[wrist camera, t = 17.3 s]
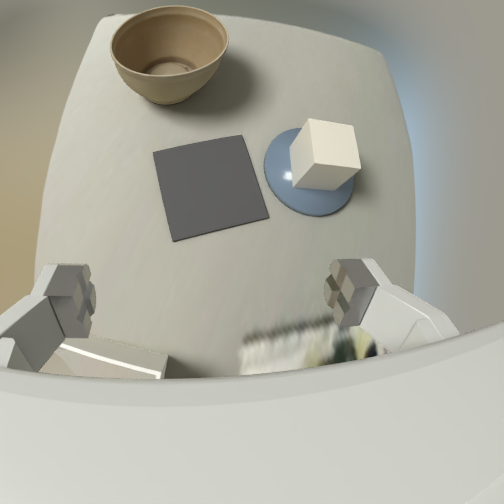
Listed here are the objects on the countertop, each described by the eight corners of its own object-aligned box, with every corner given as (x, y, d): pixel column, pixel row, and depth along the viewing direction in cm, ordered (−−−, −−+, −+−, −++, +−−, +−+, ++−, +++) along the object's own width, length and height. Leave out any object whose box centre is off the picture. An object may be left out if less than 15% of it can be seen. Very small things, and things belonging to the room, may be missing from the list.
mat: (267, 218, 42) (268, 217, 42) (172, 241, 39) (172, 241, 39) (241, 136, 44) (241, 134, 43) (152, 153, 41) (152, 152, 40)
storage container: (146, 507, 31) (140, 551, 21) (75, 486, 29) (53, 524, 19) (168, 354, 37) (161, 372, 26) (87, 333, 35) (54, 340, 24)
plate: (363, 206, 46) (366, 204, 45) (281, 226, 42) (283, 224, 41) (331, 127, 47) (334, 124, 46) (251, 137, 44) (253, 133, 43)
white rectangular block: (334, 190, 44) (361, 168, 36) (292, 187, 43) (314, 163, 35) (328, 152, 45) (352, 126, 37) (289, 147, 44) (308, 118, 36)
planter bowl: (136, 138, 40) (125, 92, 30) (110, 69, 42) (100, 24, 31) (235, 104, 45) (249, 57, 34) (197, 43, 46) (203, -3, 35)
